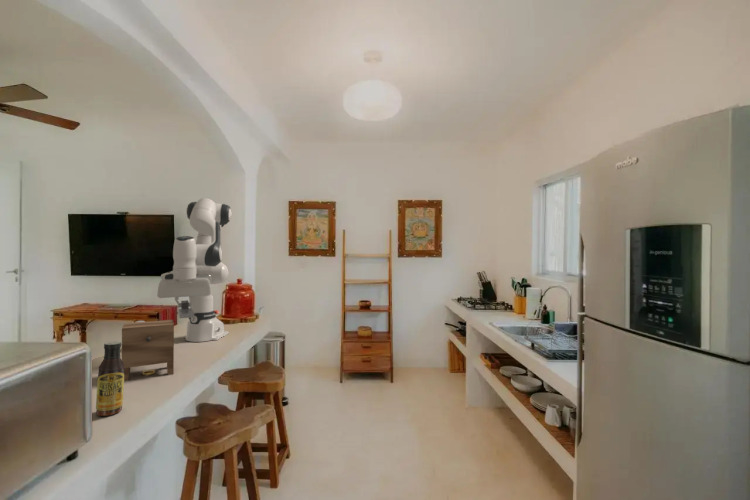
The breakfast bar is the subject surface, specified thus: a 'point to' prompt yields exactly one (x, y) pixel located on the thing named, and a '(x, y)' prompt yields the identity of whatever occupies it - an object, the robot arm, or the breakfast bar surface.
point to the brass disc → (148, 372)
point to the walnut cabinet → (148, 345)
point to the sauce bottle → (110, 381)
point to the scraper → (185, 310)
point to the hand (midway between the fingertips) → (184, 307)
